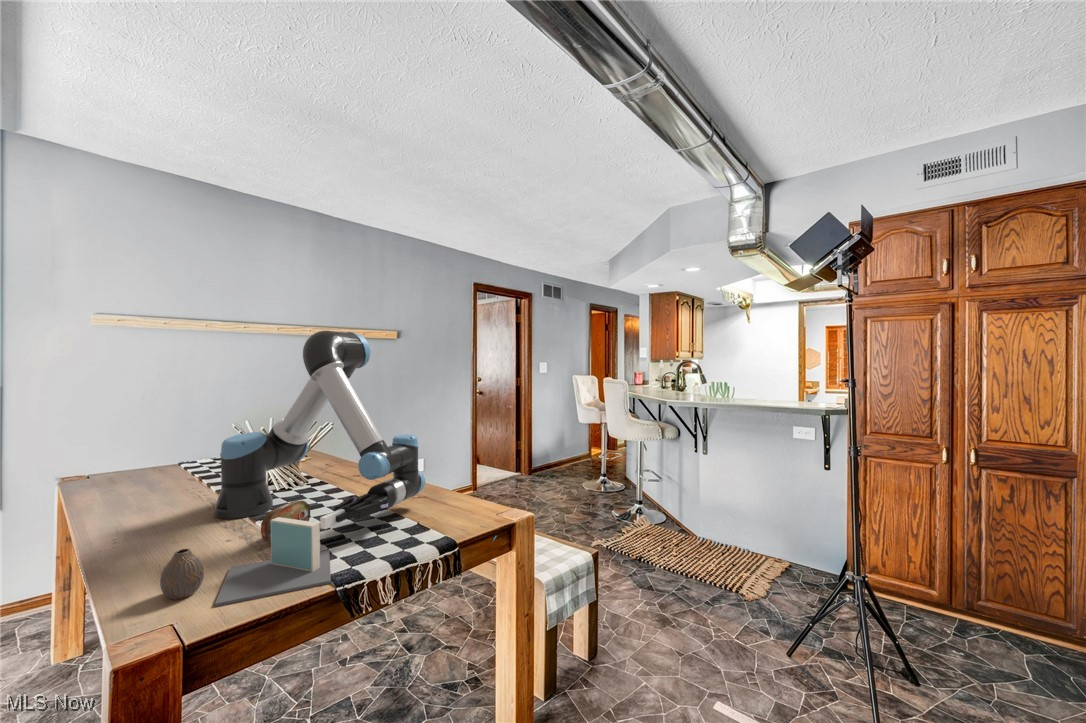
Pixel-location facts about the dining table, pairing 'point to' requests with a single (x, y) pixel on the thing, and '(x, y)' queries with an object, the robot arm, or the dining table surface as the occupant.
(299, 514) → the tin
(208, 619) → the dining table surface
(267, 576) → the mat
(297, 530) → the tile
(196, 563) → the vase
